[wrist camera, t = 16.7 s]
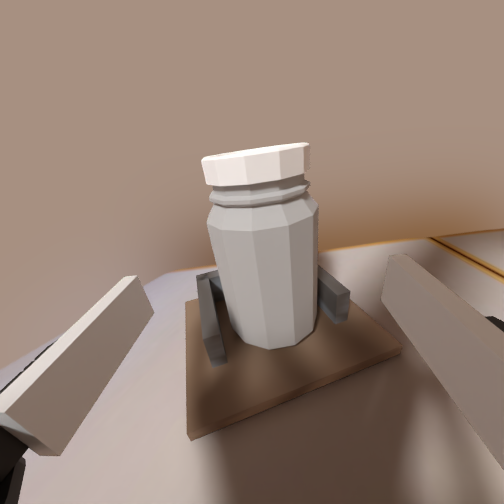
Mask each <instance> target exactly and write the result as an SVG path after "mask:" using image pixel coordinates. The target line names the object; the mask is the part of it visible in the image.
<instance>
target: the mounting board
mask: <svg viewBox="0 0 504 504" xmlns="http://www.w3.org/2000/svg"><path fill="white" fill-rule="evenodd" d="M196 279H197V289H198V299H194V300H191V301H187V302H185V310H186V407H187V435H188V437H189V439H190V440H191V441H193V440H195V439H197V438H200V437H202V436H205V435H207V434H209V433H212V432H214V431H217V430H219V429H221V428H224V427H226V426H229V425H231V424H233V423H236V422H238V421H240V420H243V419H245V418H248V417H250V416H252V415H255V414H257V413H260V412H262V411H264V410H267V409H269V408H272V407H274V406H276V405H279V404H281V403H284V402H286V401H288V400H291V399H293V398H295V397H298V396H300V395H303V394H305V393H307V392H310V391H312V390H315V389H317V388H319V387H322V386H324V385H327V384H329V383H331V382H334V381H336V380H338V379H341V378H343V377H346V376H348V375H350V374H353V373H355V372H358V371H360V370H362V369H365V368H367V367H370V366H372V365H374V364H377V363H379V362H382V361H384V360H386V359H389V358H391V357H393V356H396V355H398V354H400V353H401V350H402V346H403V345H402V344H401V343H400V342H399V341H398V340H396V339H395V338H394V337H393V336H392V335H391V334H390V333H388V332H387V331H386V330H385V329H384V328H383V327H381V326H380V325H379V324H378V323H377V322H376V321H375V320H373V319H372V318H371V317H370V316H369V315H368V314H367V313H365V312H364V311H363V310H362V309H361V308H360V307H359V306H357V305H356V304H355V303H354V302H353V301H352V300H350V299H349V298H350V291H349V290H348V289H347V288H346V287H344V286H343V285H342V284H341V283H340V282H338V281H337V280H336V279H335V278H334V277H332V276H331V275H330V274H329V273H327V272H326V271H325V270H324V269H323V268H321V267H320V266H319V265H318V273H317V315H316V319H315V323H314V328H313V331H312V332H310V333H309V334H308V335H307V336H306V337H304V338H303V339H302V340H301V341H299V342H298V343H297V344H296V345H293V346H288V347H283V348H277V349H272V350H268V349H265V348H262V347H258V346H255V345H251V344H248V343H245V342H244V341H243V340H242V339H241V337H240V336H239V335H238V334H237V333H236V332H235V331H234V330H233V328H232V326H231V321H230V317H229V313H228V309H227V305H226V301H225V297H224V293H223V289H222V285H221V281H220V276H219V272H218V270H216V271H212V272H208V273H204V274H200V275H197V276H196Z"/></svg>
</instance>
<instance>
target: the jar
mask: <svg viewBox="0 0 504 504" xmlns="http://www.w3.org/2000/svg"><path fill="white" fill-rule="evenodd" d="M201 163H202V167H203V171H204V176H205V180H206V184H207V185H212V186H213V192H211V194H210V197H209V200H210V202H213V203H214V205H213V207H212V209H211V211H210V213H209V216H208V219H207V227H208V231H209V235H210V240H211V244H212V248H213V252H214V256H215V260H216V264H217V268H218V272H219V276H220V281H221V285H222V289H223V293H224V297H225V301H226V305H227V309H228V313H229V317H230V321H231V326H232V328H233V330H234V331H235V332H236V333H237V334H238V335H239V336H240V337H241V339H242V340H243V341H244V342H245V343H248V344H251V345H255V346H258V347H262V348H265V349H268V350H272V349H277V348H283V347H288V346H293V345H296V344H297V343H298V342H299V341H301V340H302V339H303V338H304V337H306V336H307V335H308V334H309V333H310V332H312V331H313V328H314V323H315V319H316V315H317V273H318V204H317V203H316V202H315V200H314V199H313V198H312V197H311V196H310V194H309V193H308V192H307V191H306V190H307V189H308V187H309V186H310V182H309V181H307V180H304V173H305V172H306V171H307V170H309V168H310V145H309V144H308V143H306V142H304V143H293V144H286V145H278V146H271V147H263V148H256V149H249V150H243V151H237V152H231V153H224V154H219V155H213V156H207V157H204V158H203V159H202V160H201Z"/></svg>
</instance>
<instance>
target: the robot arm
mask: <svg viewBox="0 0 504 504" xmlns="http://www.w3.org/2000/svg"><path fill="white" fill-rule="evenodd" d="M381 301H382V303H383V304H384V305H385V307H386V308H387V310H388V311H389V312H390V314H391V315H392V316H393V318H394V319H395V321H396V322H397V323H398V325H399V326H400V328H401V329H402V330H403V332H404V333H405V334H406V336H407V337H408V339H409V340H410V341H411V343H412V344H413V345H414V347H415V348H416V350H417V351H418V352H419V354H420V355H421V357H422V358H423V359H424V361H425V362H426V363H427V365H428V366H429V368H430V369H431V370H432V372H433V373H434V375H435V376H436V377H437V379H438V380H439V381H440V383H441V384H442V386H443V387H444V388H445V390H446V391H447V393H448V394H449V395H450V397H451V398H452V399H453V401H454V402H455V404H456V405H457V406H458V408H459V409H460V411H461V412H462V413H463V415H464V416H465V417H466V419H467V420H468V422H469V423H470V424H471V426H472V427H473V429H474V430H475V431H476V433H477V434H478V435H479V437H480V438H481V440H482V441H483V442H484V444H485V445H486V447H487V448H488V449H489V451H490V452H491V453H492V455H493V456H494V458H495V459H496V460H497V462H498V463H499V465H500V466H501V467H502V469H503V470H504V322H503V321H501V320H499V319H497V318H495V317H493V316H489V317H484V316H483V315H481V314H480V313H479V312H478V311H476V310H475V309H474V308H473V307H471V306H470V305H469V304H468V303H466V302H465V301H464V300H463V299H461V298H460V297H459V296H458V295H456V294H455V293H454V292H453V291H451V290H450V289H449V288H448V287H446V286H445V285H444V284H443V283H442V282H440V281H439V280H438V279H437V278H435V277H434V276H433V275H432V274H430V273H429V272H428V271H427V270H425V269H424V268H423V267H422V266H420V265H419V264H418V263H417V262H415V261H414V260H413V259H412V258H410V257H409V256H408V255H407V254H403V255H391V256H389V259H388V265H387V270H386V275H385V280H384V285H383V290H382V295H381ZM153 314H154V311H153V309H152V306H151V304H150V302H149V300H148V298H147V296H146V293H145V291H144V289H143V287H142V285H141V283H140V280H139V278H138V276H126V277H124V278H123V279H122V280H120V281H119V282H118V283H117V284H116V285H115V286H114V287H113V288H112V289H111V290H110V291H109V292H108V293H107V294H106V295H105V296H104V297H103V298H102V299H100V300H99V301H98V302H97V303H96V304H95V305H94V306H93V307H92V308H91V309H90V310H89V311H88V312H87V313H86V314H85V315H83V316H82V317H81V318H80V319H79V320H78V321H77V322H76V323H75V324H74V325H73V326H72V327H71V328H70V329H69V330H68V331H67V332H65V333H64V334H63V335H62V336H61V337H60V338H59V339H58V340H57V341H55V342H54V343H52V344H51V345H49V346H48V347H47V348H46V349H45V350H44V351H42V352H41V353H40V354H39V355H38V356H37V357H36V358H35V360H34V361H32V362H31V363H30V364H29V365H27V366H26V367H25V368H24V371H23V372H20V373H19V374H18V375H17V376H16V377H15V378H14V379H12V380H11V381H10V382H9V383H8V384H7V385H6V386H5V387H4V388H3V389H2V390H1V391H0V504H18V500H19V495H20V490H21V485H22V481H23V476H24V471H25V466H26V463H25V459H24V458H23V457H22V456H23V454H24V453H25V452H26V450H27V449H28V448H30V449H31V450H33V451H34V452H35V453H37V454H38V455H40V456H60V455H61V454H62V452H63V451H64V449H65V448H66V446H67V445H68V443H69V442H70V440H71V438H72V437H73V435H74V434H75V432H76V431H77V429H78V428H79V426H80V425H81V423H82V422H83V420H84V419H85V417H86V416H87V414H88V413H89V411H90V410H91V408H92V407H93V405H94V404H95V402H96V401H97V399H98V398H99V396H100V394H101V393H102V391H103V390H104V388H105V387H106V385H107V384H108V382H109V381H110V379H111V378H112V376H113V375H114V373H115V372H116V370H117V369H118V367H119V366H120V364H121V363H122V361H123V360H124V358H125V357H126V355H127V354H128V352H129V350H130V349H131V347H132V346H133V344H134V343H135V341H136V340H137V338H138V337H139V335H140V334H141V332H142V331H143V329H144V328H145V326H146V325H147V323H148V322H149V320H150V319H151V317H152V316H153Z"/></svg>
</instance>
